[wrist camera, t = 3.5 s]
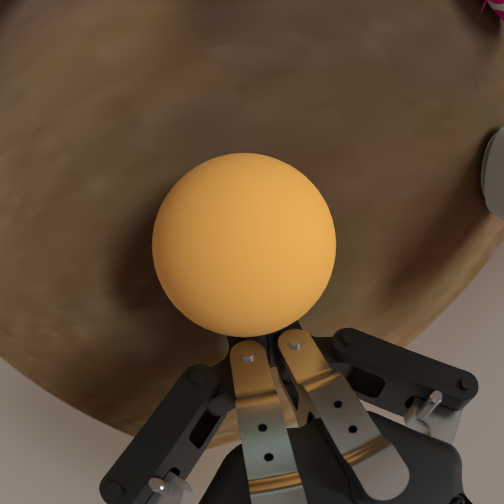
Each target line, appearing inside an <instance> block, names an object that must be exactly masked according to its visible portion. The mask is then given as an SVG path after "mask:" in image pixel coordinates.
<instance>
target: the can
mask: <svg viewBox="0 0 504 504" xmlns="http://www.w3.org/2000/svg"><path fill="white" fill-rule="evenodd" d="M481 187H482V192H483V194H484V196H485V201H486V206H487V207H488V209H489V211H490V212H491V213H493V214H494V215H496V216H498V217H499V218H501V219H502V220H504V127H502V128H501V129H500V130H499V131H498V132H496V133H495V134H493V136H492V137H491V139H490V140H489V142H488V145H487V147H486V150H485V154H484V158H483V162H482V170H481Z"/></svg>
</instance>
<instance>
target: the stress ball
mask: <svg viewBox="0 0 504 504" xmlns="http://www.w3.org/2000/svg"><path fill="white" fill-rule="evenodd" d="M487 2H488V4H489V5H490V6H491V8H492V9H493V10H494V11H495V13H496V14H497V15H498V16H499V17H500V18H501V19H502V20H503V21H504V0H484V3H483V7H482V10H483V8H484V7H485V5H486V3H487ZM482 10H481V12H482ZM480 14H481V13H480Z"/></svg>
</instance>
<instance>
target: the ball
mask: <svg viewBox="0 0 504 504" xmlns="http://www.w3.org/2000/svg"><path fill="white" fill-rule="evenodd" d="M152 254H153V260H154V266H155V270H156V273H157V277H158V279H159V281H160V284H161V286H162V288H163V290H164V291H165V293H166V295H167V296H168V298H169V299H170V301H171V302H172V303H173V304H174V305H175V307H176V308H177V309H178V310H179V311H180V312H181V313H183V314H184V315H185V316H186V317H187V318H189V319H190V320H191V321H193V322H194V323H196V324H198V325H200V326H201V327H203V328H205V329H208V330H210V331H213V332H216V333H219V334H223V335H227V336H234V337H255V336H261V335H266V334H269V333H272V332H276V331H278V330H280V329H282V328H285V327H287V326H288V325H290V324H292V323H293V322H295V321H297V320H298V319H299V318H300V317H302V316H303V315H304V314H305V313H306V312H307V311H308V310H309V309H310V308H311V307H312V306H313V305H314V304H315V303H316V301H317V300H318V299H319V298H320V296H321V295H322V293H323V291H324V289H325V288H326V286H327V283H328V281H329V279H330V276H331V273H332V270H333V266H334V261H335V255H336V238H335V229H334V225H333V220H332V217H331V214H330V211H329V209H328V207H327V205H326V203H325V201H324V199H323V197H322V196H321V194H320V193H319V191H318V190H317V188H316V187H315V186H314V185H313V184H312V183H311V181H310V180H309V179H307V178H306V177H305V176H304V175H303V174H302V173H301V172H299V171H298V170H296V169H295V168H293V167H292V166H290V165H288V164H286V163H284V162H282V161H280V160H278V159H275V158H272V157H269V156H265V155H260V154H253V153H236V154H228V155H223V156H219V157H216V158H213V159H211V160H208V161H206V162H204V163H202V164H200V165H198V166H196V167H195V168H193V169H192V170H191V171H189V172H188V173H186V174H185V175H184V176H183V177H182V178H181V179H180V180H179V181H178V182H177V183H176V184H175V185H174V186H173V187H172V189H171V190H170V191H169V192H168V194H167V196H166V197H165V199H164V201H163V202H162V204H161V207H160V209H159V211H158V214H157V217H156V220H155V224H154V229H153V237H152Z"/></svg>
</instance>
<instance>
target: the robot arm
mask: <svg viewBox="0 0 504 504" xmlns="http://www.w3.org/2000/svg"><path fill="white" fill-rule="evenodd" d="M227 339H228V343H229V352H228V354H227V356H226V358H225V359H224V360H223V361H221V362H220V363H218V364H216V365H214V366H212V367H209V366H206V365H194V366H191V367H189V368H187V369H186V370H185V371H184V372H183V374H182V375H181V376H180V378H179V379H178V380H177V382H176V383H175V384H174V386H173V387H172V388H171V390H170V391H169V392H168V394H167V395H166V397H165V398H164V399H163V401H162V402H161V403H160V405H159V406H158V407H157V409H156V410H155V411H154V413H153V414H152V415H151V416H150V418H149V419H148V420H147V422H146V423H145V424H144V426H143V427H142V428H141V430H140V431H139V432H138V434H137V435H136V436H135V438H134V439H133V440H132V442H131V443H130V444H129V446H128V447H127V448H126V449H125V451H124V452H123V453H122V455H121V456H120V457H119V458H118V460H117V461H116V462H115V464H114V465H113V466H112V468H111V469H110V470H109V471H108V473H107V474H106V475H105V476H104V478H103V479H102V481H101V483H100V486H99V487H100V488H99V490H100V494H101V496H102V498H103V500H104V501H105V502H106V503H107V504H190V501H191V498H192V495H193V492H192V488H191V486H190V484H189V483H188V482H187V481H185V479H186V478H187V476H188V475H189V473H190V472H191V470H192V469H193V467H194V466H195V464H196V463H197V461H198V460H199V458H200V457H201V455H202V454H203V452H204V450H205V449H206V447H207V446H208V444H209V443H210V441H211V439H212V438H213V436H214V435H215V433H216V431H217V430H218V428H219V426H220V425H221V423H222V421H223V420H224V418H225V417H226V415H227V412H228V411H230V410H232V409H234V408H235V407H236V411H237V417H238V424H239V430H240V436H241V441H242V444H240V445H239V446H237V447H236V448H234V449H233V450H232V451H231V452H230V453H229V454H228V455H227V456H226V457H225V459H224V460H223V462H222V464H221V466H220V467H219V469H218V471H217V473H216V474H215V476H214V478H213V480H212V482H211V483H210V485H209V487H208V488H207V490H206V492H205V494H204V495H203V497H202V499H201V500H200V502H199V504H472V503H471V502H470V501H469V500H468V498H467V497H466V496H465V494H464V491H463V485H462V461H461V457H460V455H459V453H458V451H457V450H456V449H455V448H454V447H453V446H452V444H453V441H454V438H455V435H456V432H457V428H458V425H459V421H460V418H461V413H462V410H463V408H464V407H465V406H466V405H467V404H468V403H469V402H470V401H471V400H472V398H473V397H475V395H476V394H477V392H478V381H477V380H476V378H475V376H474V375H473V374H471V373H469V372H467V371H465V370H462V369H459V368H456V367H453V366H450V365H448V364H445V363H442V362H439V361H437V360H434V359H431V358H429V357H426V356H423V355H420V354H418V353H415V352H412V351H410V350H407V349H405V348H402V347H399V346H397V345H394V344H392V343H389V342H386V341H384V340H381V339H379V338H376V337H374V336H371V335H369V334H366V333H364V332H361V331H359V330H356V329H353V328H343V329H340V330H338V331H337V332H336V333H335V334H334V336H333V337H314V336H311V335H309V334H308V333H307V332H306V331H303V329H302V328H301V326H300V324H299V322H298V320H297V321H295V322H293V323H292V324H290V325H288V326H287V327H285V328H282V329H280V330H278V331H276V332H272V333H269V334H266V335H261V336H255V337H234V336H227ZM269 365H270V368H271V367H275V366H276V367H277V370H278V373H279V381H280V383H281V386H282V388H283V390H284V392H285V394H286V396H287V398H288V400H289V402H290V404H291V406H292V408H293V411H294V413H295V415H296V419H297V423H298V426H299V427H298V428H286V425H285V421H284V417H283V413H282V409H281V405H280V402H279V398H278V395H277V392H276V391H275V388H274V384H273V380H272V376H271V372H270V368H269ZM359 399H361V400H363V401H365V402H368V403H370V404H372V405H375V406H377V407H380V408H382V409H384V410H387V411H389V412H392V413H394V414H397V415H400V416H402V417H404V421H405V424H406V426H404V425H401V424H399V423H396V422H394V421H392V420H390V419H388V418H385V417H383V416H381V415H379V414H376V413H374V412H371V411H366V410H365V408H364V407H363V405H362V403H361V402H360V400H359Z"/></svg>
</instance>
